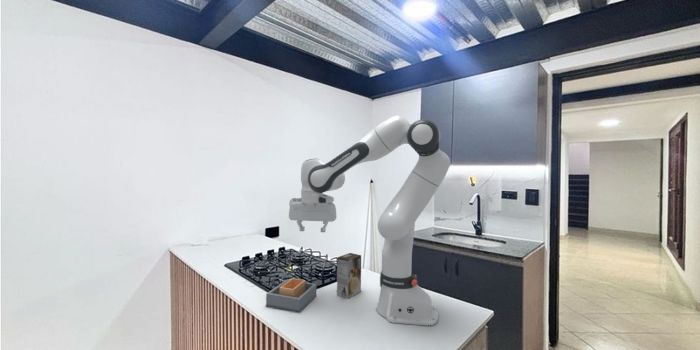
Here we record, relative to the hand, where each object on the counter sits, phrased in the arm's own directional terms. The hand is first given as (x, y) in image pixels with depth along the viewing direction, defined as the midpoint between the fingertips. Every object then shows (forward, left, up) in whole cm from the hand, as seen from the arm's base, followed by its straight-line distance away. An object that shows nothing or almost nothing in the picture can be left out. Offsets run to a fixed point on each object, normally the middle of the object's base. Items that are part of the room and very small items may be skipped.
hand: (312, 231), depth 117 cm
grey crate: (+5, +7, -27) cm, 28 cm away
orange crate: (+5, +7, -26) cm, 27 cm away
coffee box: (-14, -8, -27) cm, 31 cm away
